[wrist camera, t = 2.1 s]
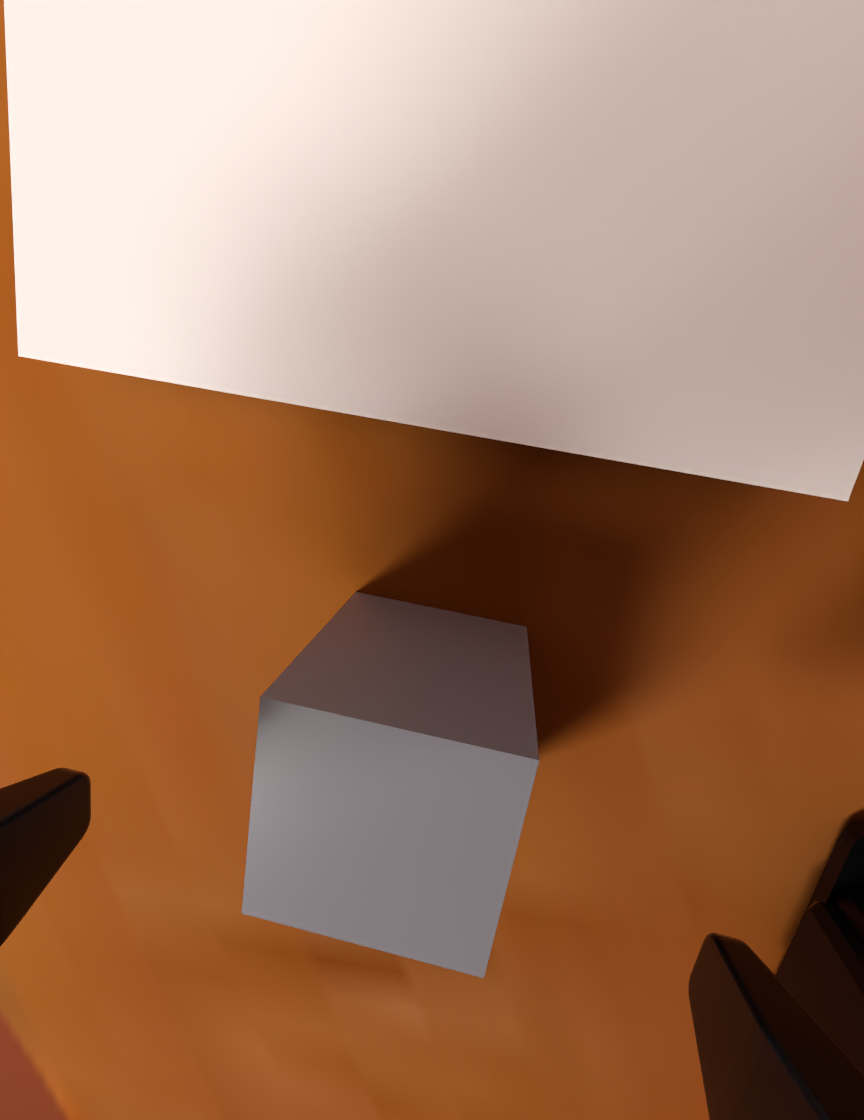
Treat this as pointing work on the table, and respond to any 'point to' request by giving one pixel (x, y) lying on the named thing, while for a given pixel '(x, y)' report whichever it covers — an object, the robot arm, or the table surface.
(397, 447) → the table surface
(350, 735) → the block
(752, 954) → the robot arm
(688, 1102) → the table surface
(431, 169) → the socket plate
